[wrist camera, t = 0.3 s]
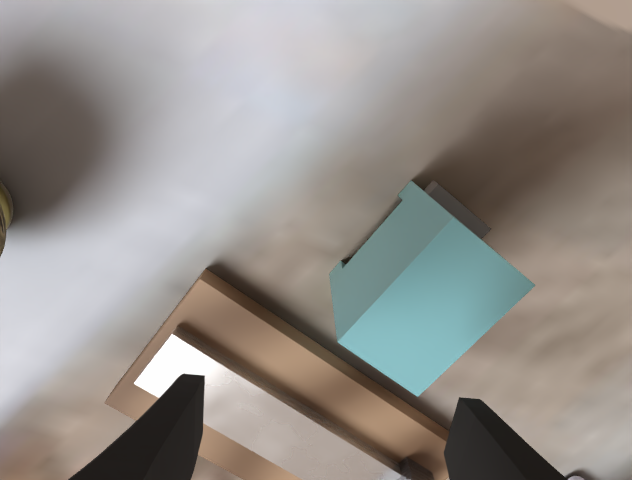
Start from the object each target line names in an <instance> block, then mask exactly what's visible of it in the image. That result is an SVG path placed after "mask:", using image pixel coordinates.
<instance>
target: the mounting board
mask: <svg viewBox="0 0 632 480" xmlns="http://www.w3.org/2000/svg"><path fill="white" fill-rule="evenodd" d="M177 325H178V326H179V327H181V328H182V329H184V330H186V331H187V332H189V333H190V334H192V335H194V336H195V337H197V338H198V339H200V340H202V341H203V342H205V343H206V344H208V345H210V346H211V347H213V348H214V349H216V350H218V351H219V352H221V353H222V354H224V355H226V356H227V357H229V358H231V359H232V360H234V361H235V362H237V363H239V364H240V365H242V366H243V367H245V368H247V369H248V370H250V371H251V372H253V373H255V374H256V375H258V376H259V377H261V378H263V379H264V380H266V381H267V382H269V383H271V384H272V385H274V386H275V387H277V388H279V389H280V390H282V391H284V392H285V393H287V394H288V395H290V396H292V397H293V398H295V399H296V400H298V401H300V402H301V403H303V404H304V405H306V406H308V407H309V408H311V409H312V410H314V411H316V412H317V413H319V414H320V415H322V416H324V417H325V418H327V419H328V420H330V421H332V422H333V423H335V424H336V425H338V426H340V427H341V428H343V429H345V430H346V431H348V432H349V433H351V434H353V435H354V436H356V437H357V438H359V439H361V440H362V441H364V442H365V443H367V444H369V445H370V446H372V447H373V448H375V449H377V450H378V451H380V452H381V453H383V454H385V455H386V456H388V457H389V458H391V459H393V460H394V461H396V462H398V463H399V462H400V461H401V460H403V459H404V458H405V457H406V456H407V457H409V458H410V459H412V460H413V461H415V462H417V463H418V464H420V465H421V466H423V467H424V468H426V469H428V470H429V471H431V472H432V473H433V476H434V479H435V480H446V479H447V478H448V477H449V475H448V470H447V466H446V462H445V457H444V449H445V446H446V442H447V439H448V435H449V431H448V430H446V429H445V428H443V427H442V426H440V425H439V424H437V423H436V422H434V421H433V420H431V419H430V418H428V417H427V416H425V415H424V414H422V413H421V412H419V411H418V410H416V409H415V408H413V407H412V406H410V405H409V404H407V403H406V402H404V401H403V400H401V399H400V398H398V397H397V396H395V395H394V394H392V393H391V392H389V391H388V390H386V389H385V388H383V387H382V386H380V385H379V384H377V383H376V382H374V381H373V380H371V379H370V378H368V377H367V376H365V375H364V374H362V373H361V372H360V371H358V370H357V369H355V368H354V367H352V366H351V365H349V364H348V363H346V362H345V361H343V360H342V359H340V358H339V357H337V356H336V355H334V354H333V353H331V352H330V351H328V350H327V349H325V348H324V347H322V346H321V345H319V344H318V343H316V342H315V341H313V340H312V339H310V338H309V337H307V336H306V335H304V334H303V333H301V332H300V331H298V330H297V329H295V328H294V327H292V326H291V325H289V324H288V323H286V322H285V321H283V320H282V319H280V318H279V317H277V316H276V315H274V314H273V313H271V312H270V311H268V310H267V309H266V308H264V307H263V306H261V305H260V304H258V303H257V302H255V301H254V300H252V299H251V298H249V297H248V296H246V295H245V294H243V293H242V292H240V291H239V290H237V289H236V288H234V287H233V286H231V285H230V284H228V283H227V282H225V281H224V280H222V279H221V278H219V277H218V276H216V275H215V274H213V273H212V272H210V271H209V270H207V269H205V270H204V271H203V273H202V274H201V275H200V276H199V278H198V279H197V280H196V282H195V283H194V284H193V286H192V287H191V288H190V290H189V291H188V292H187V293H186V295H185V296H184V297H183V299H182V300H181V301H180V303H179V304H178V305H177V307H176V308H175V309H174V310H173V312H172V313H171V314H170V316H169V317H168V318H167V320H166V321H165V322H164V324H163V325H162V326H161V327H160V329H159V330H158V331H157V333H156V334H155V335H154V337H153V338H152V339H151V341H150V342H149V343H148V344H147V346H146V347H145V348H144V350H143V351H142V352H141V354H140V355H139V356H138V358H137V359H136V360H135V361H134V363H133V364H132V365H131V367H130V368H129V369H128V371H127V372H126V373H125V375H124V376H123V377H122V378H121V380H120V381H119V382H118V384H117V385H116V386H115V388H114V389H113V391H112V392H111V394H110V395H109V397H108V398H107V400H106V401H105V404H107V405H109V406H110V407H112V408H114V409H116V410H118V411H120V412H121V413H123V414H125V415H127V416H129V417H130V418H132V419H134V420H136V421H137V420H138V419H139V418H140V417H141V416H142V415H143V414H144V413H145V412H146V411H147V410H148V409H149V408H150V407H151V406H152V405H153V404H154V403H155V402H156V401H157V400H158V399H159V398H158V397H157V396H155V395H153V394H151V393H150V392H148V391H146V390H144V389H143V388H141V387H139V386H137V385H136V384H134V382H135V381H136V379H137V377H138V376H139V374H140V372H141V371H142V370H143V369H144V367H145V366H146V365H147V363H148V362H149V361H150V360H151V358H152V357H153V356H154V354H155V353H156V352H157V351H158V349H159V348H160V347H161V345H162V344H163V343H164V342H165V340H166V339H167V338H168V336H169V335H170V334H171V333H172V331H173V330H174V329H175V327H176V326H177ZM198 455H200V456H202V457H203V458H205V459H207V460H209V461H211V462H212V463H214V464H216V465H218V466H220V467H222V468H223V469H225V470H227V471H229V472H231V473H232V474H234V475H236V476H238V477H240V478H242V479H243V480H302V479H300V478H298V477H297V476H295V475H293V474H291V473H290V472H288V471H286V470H284V469H283V468H281V467H279V466H277V465H276V464H274V463H272V462H270V461H269V460H267V459H265V458H263V457H262V456H260V455H258V454H256V453H255V452H253V451H251V450H249V449H248V448H246V447H244V446H242V445H241V444H239V443H237V442H235V441H234V440H232V439H230V438H228V437H227V436H225V435H223V434H221V433H220V432H218V431H216V430H214V429H213V428H211V427H209V426H207V425H206V424H204V423H203V435H202V440H201V444H200V448H199V452H198Z"/></svg>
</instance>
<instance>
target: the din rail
mask: <svg viewBox="0 0 632 480" xmlns="http://www.w3.org/2000/svg"><path fill="white" fill-rule="evenodd" d="M181 374H194V375H205V388H204V417H203V423H204V424H206V425H207V426H209V427H211V428H213V429H214V430H216V431H218V432H220V433H221V434H223V435H225V436H227V437H228V438H230V439H232V440H234V441H235V442H237V443H239V444H241V445H242V446H244V447H246V448H248V449H249V450H251V451H253V452H255V453H256V454H258V455H260V456H262V457H263V458H265V459H267V460H269V461H270V462H272V463H274V464H276V465H277V466H279V467H281V468H283V469H284V470H286V471H288V472H290V473H291V474H293V475H295V476H297V477H298V478H300V479H302V480H435V479H434V476H433V473H432V472H431V471H429V470H428V469H426V468H424V467H423V466H421V465H420V464H418V463H417V462H415V461H413V460H412V459H410V458H409V457H407V456H406V457H405V458H404V459H403V460H401V461H400V462H399V463H398V462H396V461H394V460H393V459H391V458H389V457H388V456H386V455H385V454H383V453H381V452H380V451H378V450H377V449H375V448H373V447H372V446H370V445H369V444H367V443H365V442H364V441H362V440H361V439H359V438H357V437H356V436H354V435H353V434H351V433H349V432H348V431H346V430H345V429H343V428H341V427H340V426H338V425H336V424H335V423H333V422H332V421H330V420H328V419H327V418H325V417H324V416H322V415H320V414H319V413H317V412H316V411H314V410H312V409H311V408H309V407H308V406H306V405H304V404H303V403H301V402H300V401H298V400H296V399H295V398H293V397H292V396H290V395H288V394H287V393H285V392H284V391H282V390H280V389H279V388H277V387H275V386H274V385H272V384H271V383H269V382H267V381H266V380H264V379H263V378H261V377H259V376H258V375H256V374H255V373H253V372H251V371H250V370H248V369H247V368H245V367H243V366H242V365H240V364H239V363H237V362H235V361H234V360H232V359H231V358H229V357H227V356H226V355H224V354H222V353H221V352H219V351H218V350H216V349H214V348H213V347H211V346H210V345H208V344H206V343H205V342H203V341H202V340H200V339H198V338H197V337H195V336H194V335H192V334H190V333H189V332H187V331H186V330H184V329H182V328H181V327H179V326H178V325H177V326H176V327H175V329H174V330H173V331H172V333H171V334H170V335H169V336H168V338H167V339H166V340H165V342H164V343H163V344H162V345H161V347H160V348H159V349H158V351H157V352H156V353H155V354H154V356H153V357H152V358H151V360H150V361H149V362H148V363H147V365H146V366H145V367H144V369H143V370H142V371H141V372H140V374H139V376H138V377H137V379H136V381H135V382H134V384H136V385H137V386H139V387H141V388H143V389H144V390H146V391H148V392H150V393H151V394H153V395H155V396H157V397H158V398H160V396H161V395H162V394H163V393H164V392H165V391H166V390H167V389H168V388H169V387H170V386H171V385H172V383H173V382H174V381H175V380H176V379H177V378H178V377H179V376H180V375H181Z"/></svg>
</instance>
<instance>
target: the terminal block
mask: <svg viewBox="0 0 632 480" xmlns="http://www.w3.org/2000/svg"><path fill="white" fill-rule="evenodd" d="M398 196H399V197H400V198H401V199H402V202H401V203H400V204H399V205H398V206H397V207H396V208H395V210H394V211H393V212H392V213H391V214H390V215H389V216H388V218H387V219H386V220H385V221H384V222H383V223H382V224H381V225H380V227H379V228H378V229H377V230H376V231H375V232H374V233H373V235H372V236H371V237H370V238H369V239H368V240H367V241H366V243H365V244H364V245H363V246H362V247H361V248H360V249H359V250H358V252H357V253H356V254H355V255H354V256H353V257H352V258H351V260H350V261H349V262H348V263H347V264H345V263H343V262H342V261H340V262H339V263H338V264H337V266H336V267H335V268H334V269H333V270H332V271H331V272H330V274H329V276H330V284H331V293H332V301H333V310H334V318H335V327H336V335H337V342H338V343H339V344H341V345H342V346H344V347H345V348H347V349H348V350H349V351H351V352H352V353H354V354H355V355H357V356H358V357H360V358H361V359H363V360H364V361H366V362H367V363H369V364H370V365H372V366H373V367H374V368H376V369H377V370H379V371H380V372H382V373H383V374H385V375H386V376H388V377H389V378H391V379H392V380H394V381H395V382H397V383H398V384H399V385H401V386H402V387H404V388H405V389H407V390H408V391H410V392H411V393H413V394H414V395H416V396H417V397H418V396H419V395H420V394H421V393H422V392H423V391H424V390H426V389H427V388H428V387H429V386H430V385H431V384H432V383H433V382H434V381H435V380H436V379H437V378H438V377H439V376H440V375H441V374H442V373H443V372H445V371H446V370H447V369H448V368H449V367H450V366H451V365H452V364H453V363H454V362H455V361H456V360H457V359H458V358H459V357H460V356H461V355H462V354H464V353H465V352H466V351H467V350H468V349H469V348H470V347H471V346H472V345H473V344H474V343H475V342H476V341H477V340H478V339H479V338H480V337H481V336H483V335H484V334H485V333H486V332H487V331H488V330H489V329H490V328H491V327H492V326H493V325H494V324H495V323H496V322H497V321H498V320H499V319H500V318H502V317H503V316H504V315H505V314H506V313H507V312H508V311H509V310H510V309H511V308H512V307H513V306H514V305H515V304H516V303H517V302H518V301H519V300H521V299H522V298H523V297H524V296H525V295H526V294H527V293H528V292H529V291H530V290H531V289H532V288H533V287H534V286H535V284H533V283H532V282H531V281H530V280H529V279H527V278H526V277H525V276H524V275H523V274H522V273H520V272H519V271H518V270H517V269H516V268H515V267H513V266H512V265H511V264H510V263H509V262H508V261H506V260H505V259H504V258H503V257H502V256H501V255H499V254H498V253H497V252H496V251H495V250H493V249H492V248H491V247H490V246H489V245H488V244H486V243H485V242H484V241H483V240H482V238H483V237H484V236H485V235H486V234H487V233H488V232H489V231H490V230H491V228H490V227H488V226H487V225H486V224H485V223H484V222H482V221H481V220H480V219H479V218H478V217H477V216H475V215H474V214H473V213H472V212H471V211H469V210H468V209H467V208H466V207H465V206H464V205H462V204H461V203H460V202H459V201H458V200H457V199H455V198H454V197H453V196H452V195H451V194H449V193H448V192H447V191H446V190H445V189H444V188H442V187H441V186H440V185H439V184H438V183H436V182H435V181H432V182H431V183H430V184H429V185H428V186H427V187H426V189H425V190H424V191H423V190H422V189H421V188H420V187H418V186H417V185H416V184H415V183H414V182H413V181H410V182H409V183H408V184H407V185H406V186H405V188H404V189H403V190H402V191H401V192H400V193H399V194H398Z"/></svg>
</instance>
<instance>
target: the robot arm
mask: <svg viewBox="0 0 632 480" xmlns="http://www.w3.org/2000/svg"><path fill="white" fill-rule="evenodd" d="M204 388H205V375H194V374H181V375H180V376H179V377H178V378H177V379H176V380H175V381H174V382H173V383H172V385H171V386H170V387H169V388H168V389H167V390H166V391H165V392H164V393H163V394H162V395H161V396H160V398H159V399H158V400H157V401H156V402H155V403H154V404H153V405H152V406H151V407H150V408H149V409H148V410H147V411H146V412H145V413H144V414H143V415H142V416H141V417H140V418H139V419H138V420H137V421H136V422H135V423H134V424H133V425H132V426H131V427H130V428H129V429H127V430H126V431H125V432H124V433H123V434H122V435H121V436H120V437H119V438H118V439H116V440H115V441H114V442H113V443H112V444H111V445H110V446H109V447H107V448H106V449H105V450H104V451H103V452H102V453H101V454H99V455H98V456H97V457H96V458H95V459H93V460H92V461H91V462H90V463H89V464H87V465H86V466H85V467H84V468H82V469H81V470H80V471H79V472H77V473H76V474H75V475H73V476H72V477H71V478H70V479H68V480H191V477H192V474H193V471H194V467H195V464H196V460H197V456H198V452H199V448H200V444H201V440H202V435H203V417H204ZM444 457H445V462H446V466H447V470H448V475H449V479H450V480H584V479H583V478H582V477H579V476H572V477H570V478H569V479H566V478H565V477H564V476H563V475H562V474H561V473H559V472H558V471H557V470H556V469H555V468H554V467H553V466H551V465H550V464H549V463H548V462H547V461H546V460H545V459H544V458H543V457H542V456H540V455H539V454H538V453H537V452H536V451H535V450H534V449H533V448H532V447H531V446H530V445H529V444H527V443H526V442H525V441H524V440H523V439H522V438H521V437H520V436H519V435H518V434H517V433H516V432H515V431H514V430H513V429H512V428H511V427H510V426H508V425H507V424H506V423H505V422H504V421H503V420H502V419H501V418H500V417H499V416H498V415H497V414H496V413H495V412H494V411H493V410H492V409H490V408H489V407H488V406H487V405H486V404H485V403H484V402H483V401H481V400H480V399H471V398H460V397H459V400H458V403H457V407H456V411H455V414H454V418H453V421H452V425H451V428H450V432H449V435H448V439H447V442H446V446H445V449H444Z"/></svg>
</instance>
